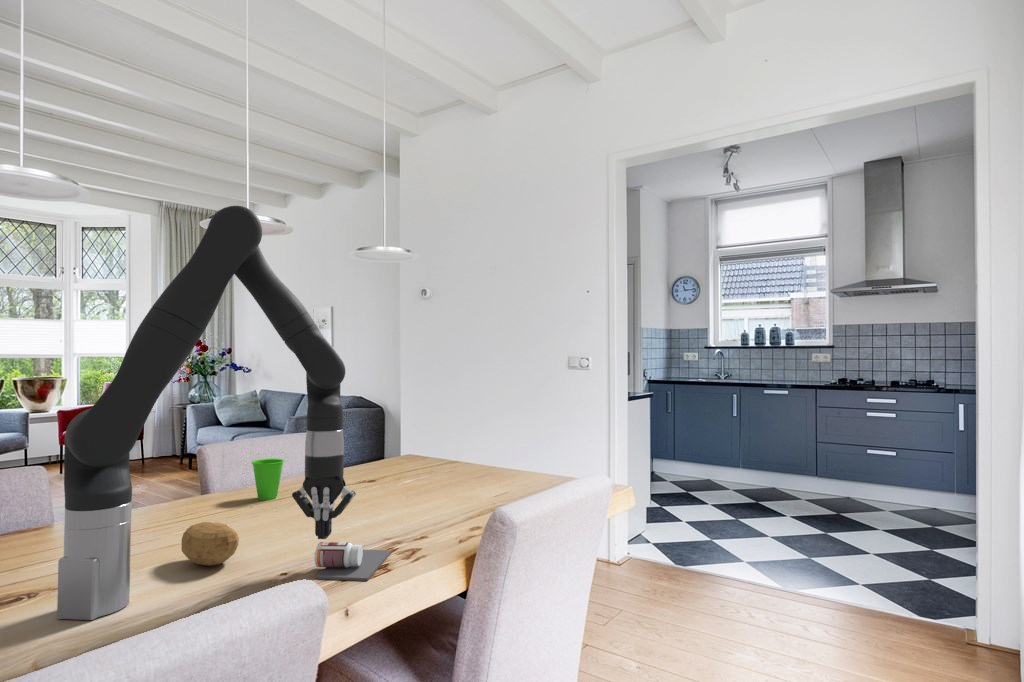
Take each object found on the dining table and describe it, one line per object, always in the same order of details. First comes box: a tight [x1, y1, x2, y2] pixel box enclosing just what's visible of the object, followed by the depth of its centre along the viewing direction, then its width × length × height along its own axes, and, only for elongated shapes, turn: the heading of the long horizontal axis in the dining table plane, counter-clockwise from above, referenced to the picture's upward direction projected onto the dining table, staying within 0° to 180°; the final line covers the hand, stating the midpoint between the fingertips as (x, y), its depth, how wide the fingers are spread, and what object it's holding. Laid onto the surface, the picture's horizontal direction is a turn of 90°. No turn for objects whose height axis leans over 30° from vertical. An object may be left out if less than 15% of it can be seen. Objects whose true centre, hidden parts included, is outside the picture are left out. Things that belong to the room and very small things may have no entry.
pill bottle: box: [314, 541, 364, 568], centre depth 117 cm, size 5×5×8 cm
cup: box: [251, 457, 285, 501], centre depth 175 cm, size 9×9×11 cm
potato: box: [181, 521, 240, 567], centre depth 120 cm, size 10×14×8 cm
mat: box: [315, 549, 392, 582], centre depth 120 cm, size 16×10×1 cm, turn 176°
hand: (323, 537), depth 119 cm, fingers closed
